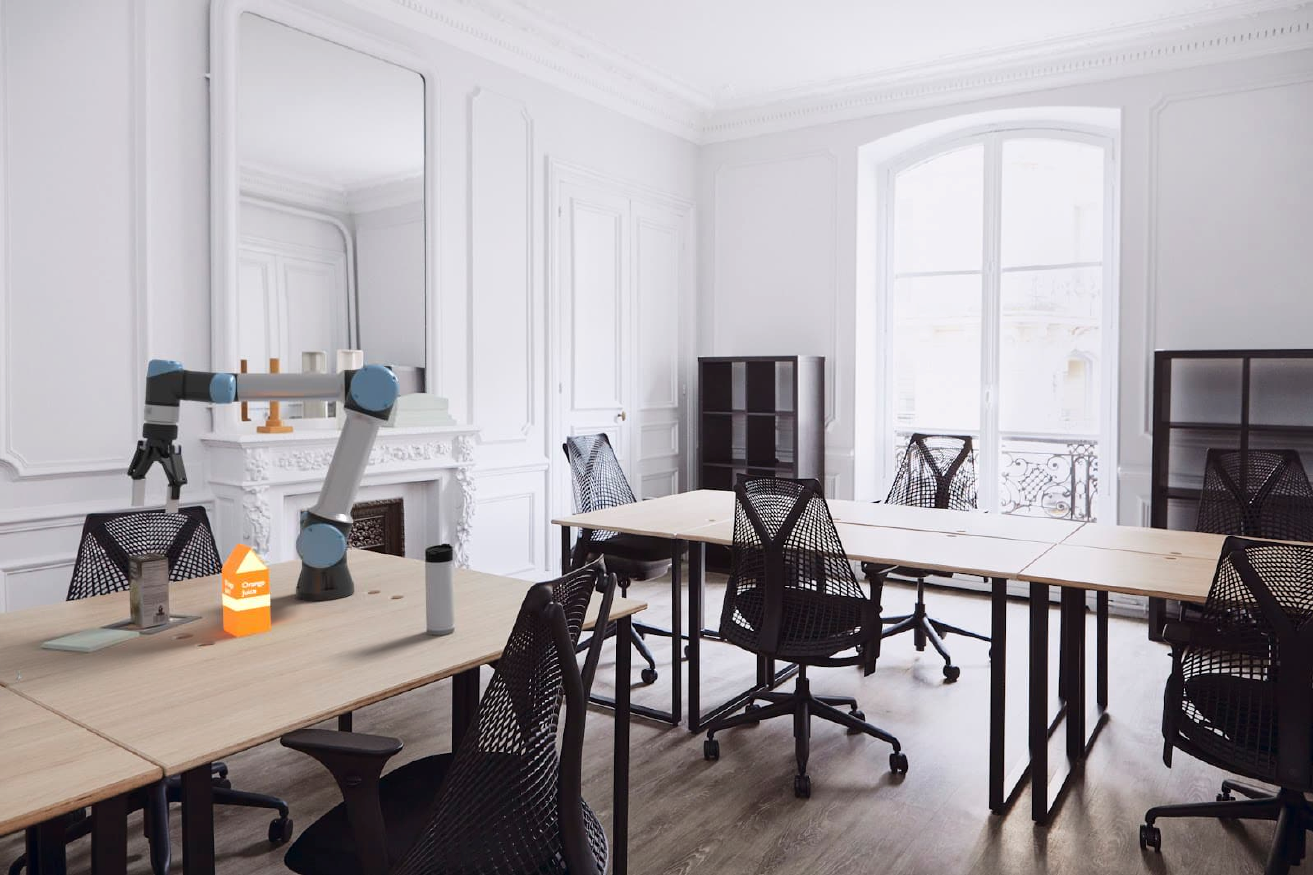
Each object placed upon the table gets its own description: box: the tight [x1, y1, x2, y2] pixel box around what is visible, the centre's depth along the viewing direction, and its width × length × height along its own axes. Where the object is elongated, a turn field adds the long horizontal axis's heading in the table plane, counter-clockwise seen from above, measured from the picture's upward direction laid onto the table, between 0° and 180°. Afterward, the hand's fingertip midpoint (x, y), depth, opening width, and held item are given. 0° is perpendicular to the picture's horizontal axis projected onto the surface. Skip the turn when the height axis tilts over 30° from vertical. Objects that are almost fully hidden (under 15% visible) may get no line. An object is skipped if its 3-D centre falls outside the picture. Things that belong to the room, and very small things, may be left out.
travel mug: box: [424, 543, 455, 636], centre depth 206 cm, size 6×7×20 cm
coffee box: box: [127, 552, 171, 628], centre depth 216 cm, size 9×6×16 cm
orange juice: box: [221, 543, 272, 638], centre depth 209 cm, size 8×9×20 cm
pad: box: [42, 627, 140, 653], centre depth 201 cm, size 13×13×1 cm
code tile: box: [99, 613, 203, 635], centre depth 216 cm, size 16×15×1 cm
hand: (154, 509), depth 220 cm, fingers open, 13 cm apart
